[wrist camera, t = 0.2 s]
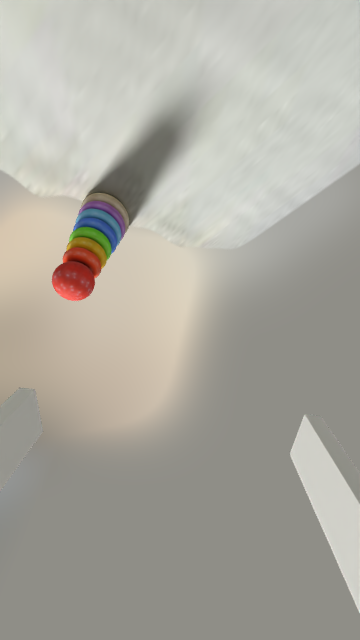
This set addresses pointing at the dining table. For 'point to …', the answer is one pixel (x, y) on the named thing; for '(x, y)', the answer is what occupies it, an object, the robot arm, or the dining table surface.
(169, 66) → the dining table surface
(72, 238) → the stacking toy
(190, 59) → the dining table surface
